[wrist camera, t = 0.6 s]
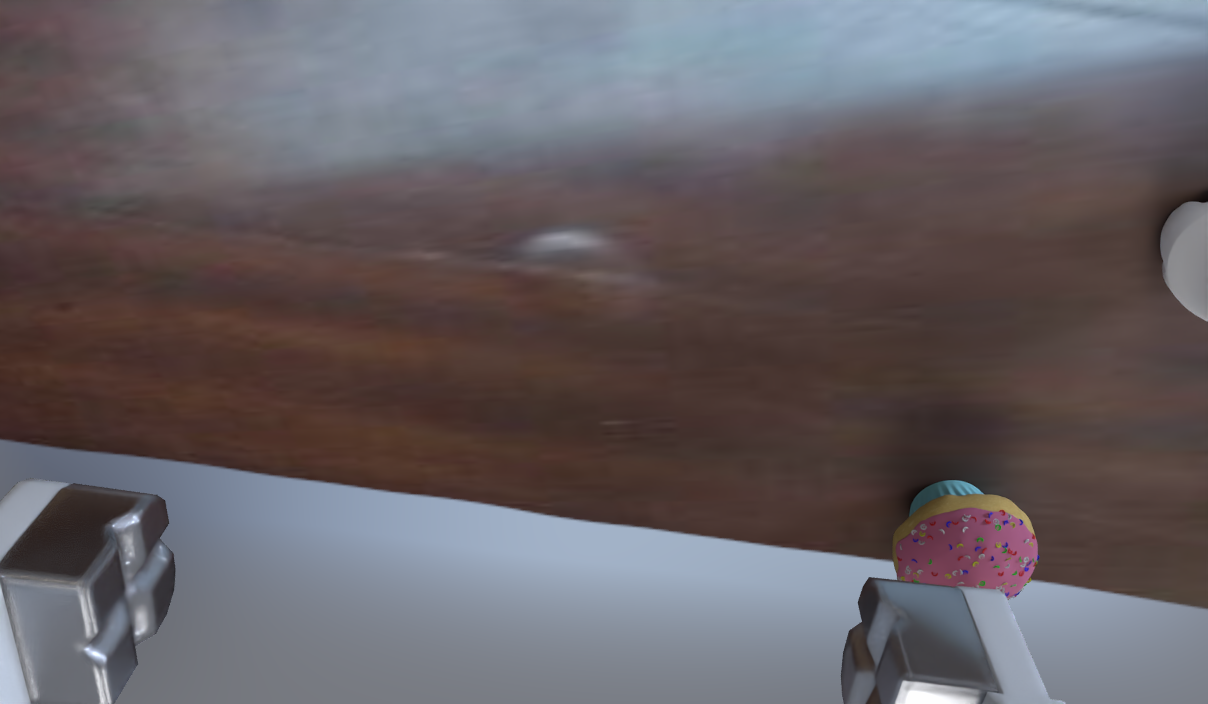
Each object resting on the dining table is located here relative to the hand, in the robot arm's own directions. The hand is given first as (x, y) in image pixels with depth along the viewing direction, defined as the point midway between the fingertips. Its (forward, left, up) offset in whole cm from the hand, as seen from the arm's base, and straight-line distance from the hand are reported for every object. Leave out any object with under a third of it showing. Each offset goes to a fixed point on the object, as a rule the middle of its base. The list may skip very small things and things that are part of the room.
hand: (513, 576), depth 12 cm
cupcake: (+32, +23, -44) cm, 59 cm away
